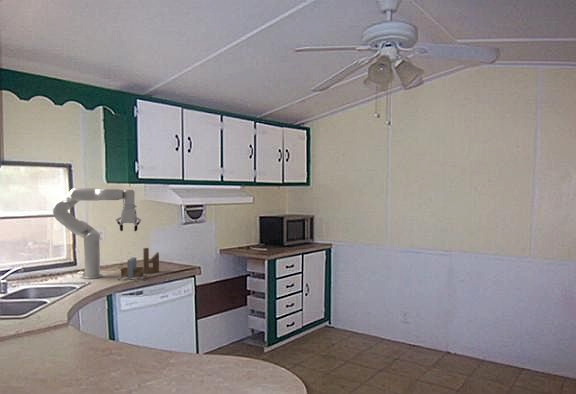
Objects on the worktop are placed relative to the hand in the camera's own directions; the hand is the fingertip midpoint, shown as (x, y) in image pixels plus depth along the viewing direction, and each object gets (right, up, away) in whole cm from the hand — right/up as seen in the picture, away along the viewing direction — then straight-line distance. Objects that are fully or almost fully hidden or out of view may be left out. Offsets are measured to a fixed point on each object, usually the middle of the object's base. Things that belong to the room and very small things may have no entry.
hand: (128, 231), depth 294 cm
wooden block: (+13, -31, +8) cm, 35 cm away
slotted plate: (+6, -30, -10) cm, 32 cm away
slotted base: (+6, -31, -10) cm, 33 cm away
